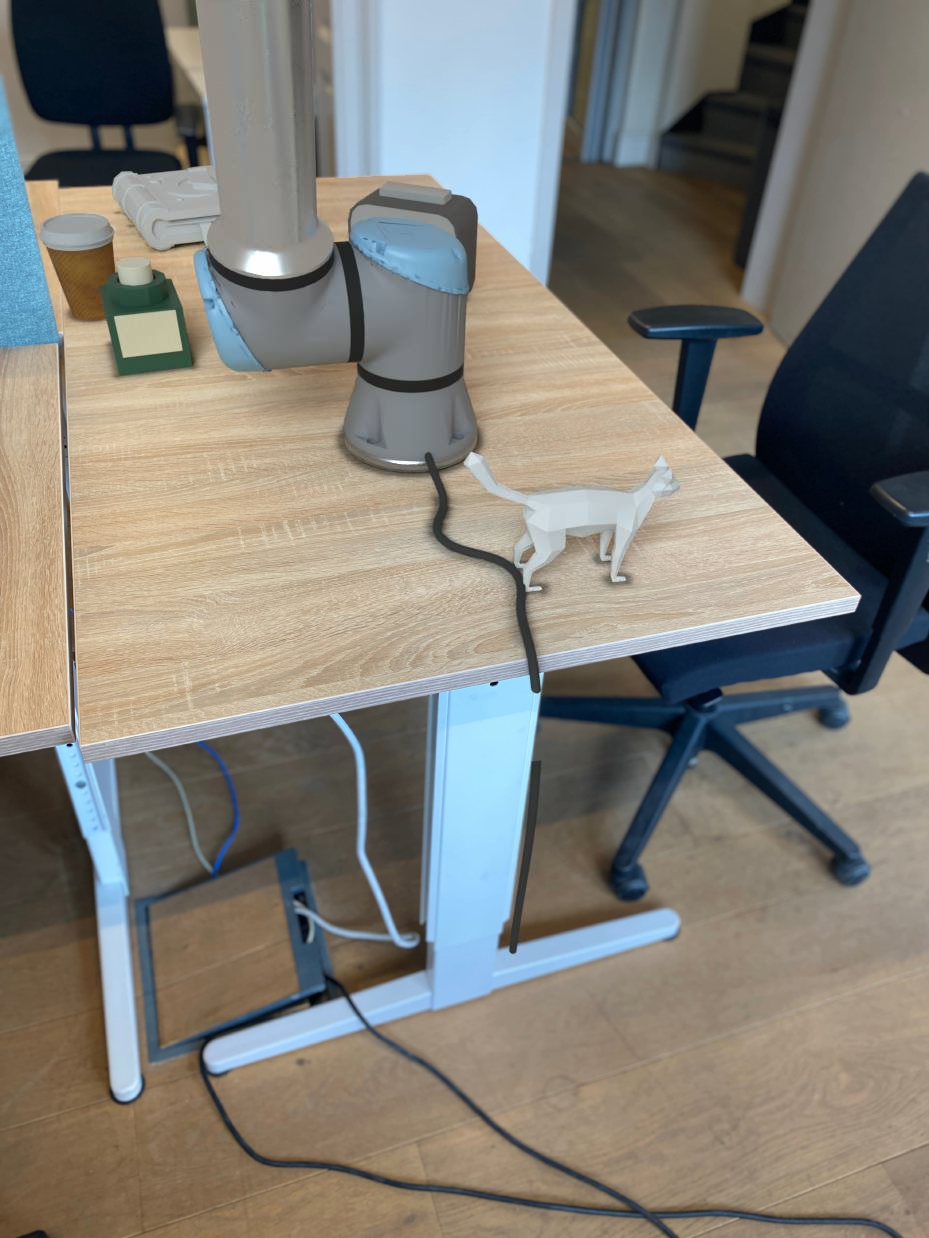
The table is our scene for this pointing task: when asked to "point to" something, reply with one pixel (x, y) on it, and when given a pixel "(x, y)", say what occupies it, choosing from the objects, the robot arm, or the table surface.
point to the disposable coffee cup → (80, 259)
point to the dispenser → (144, 301)
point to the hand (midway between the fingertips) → (224, 71)
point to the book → (170, 204)
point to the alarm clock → (424, 213)
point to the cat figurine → (578, 514)
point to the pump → (134, 271)
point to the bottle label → (148, 333)
